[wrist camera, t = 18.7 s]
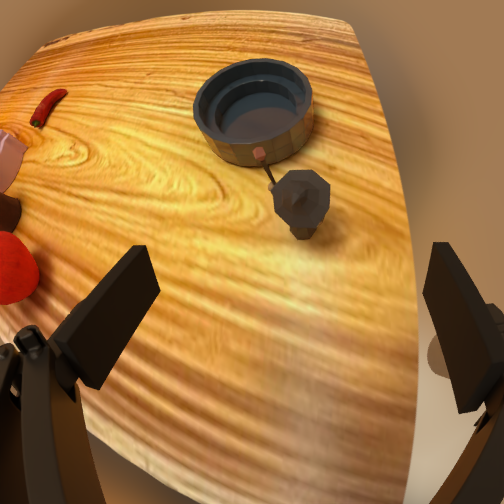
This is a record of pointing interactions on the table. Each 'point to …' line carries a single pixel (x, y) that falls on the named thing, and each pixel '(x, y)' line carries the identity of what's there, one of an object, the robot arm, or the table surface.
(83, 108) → the table surface
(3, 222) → the sculpture
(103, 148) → the table surface
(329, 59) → the table surface
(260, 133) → the basin
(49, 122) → the table surface
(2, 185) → the clip
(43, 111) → the vegetable
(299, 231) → the wizard figurine
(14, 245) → the apple
